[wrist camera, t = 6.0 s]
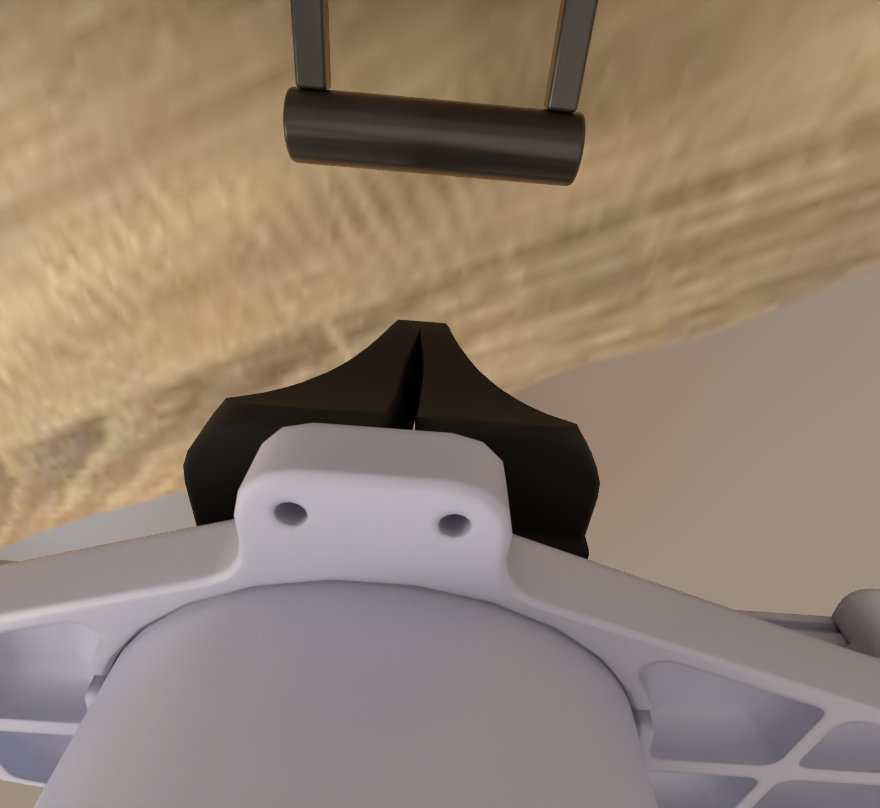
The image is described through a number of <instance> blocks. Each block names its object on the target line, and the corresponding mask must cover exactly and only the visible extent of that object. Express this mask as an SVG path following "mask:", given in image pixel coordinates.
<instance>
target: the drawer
mask: <svg viewBox="0 0 880 808" xmlns="http://www.w3.org/2000/svg"><path fill="white" fill-rule="evenodd" d="M290 2H291V17H292V32H293V47H294V62H295V77H296V85H297V87H291V88H289V89H288V91H287V93H286V97H285V102H284V111H283V125H284V135H285V142H286V146H287V150H288V153H289V155H290V157H291V159H292V160H293V161H295V162H297V163H307V164H319V165H330V166H342V167H353V168H365V169H376V170H388V171H399V172H411V173H422V174H434V175H445V176H457V177H468V178H480V179H491V180H503V181H514V182H526V183H537V184H549V185H560V186H569V185H571V184H572V183H573V181H574V179H575V177H576V175H577V172H578V170H579V166H580V163H581V159H582V154H583V149H584V142H585V118H584V115H583V114H582V113H580V112H575V111H576V110H577V107H578V102H579V97H580V92H581V87H582V82H583V76H584V71H585V66H586V61H587V56H588V51H589V45H590V40H591V35H592V30H593V25H594V20H595V14H596V9H597V4H598V0H561V4H560V10H559V16H558V23H557V29H556V35H555V41H554V47H553V53H552V59H551V66H550V72H549V78H548V84H547V90H546V96H545V103H544V106H545V108H547V109H536V108H525V107H514V106H503V105H492V104H481V103H469V102H458V101H447V100H436V99H425V98H414V97H403V96H391V95H380V94H369V93H358V92H347V91H336V90H325V89H329V88H330V87H331V72H330V43H329V15H328V0H290ZM548 109H549V110H548Z"/></svg>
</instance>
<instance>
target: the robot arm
mask: <svg viewBox="0 0 880 808" xmlns="http://www.w3.org/2000/svg"><path fill="white" fill-rule="evenodd" d="M414 421H415V430H413V426H414ZM183 467H184V478H185V484H186V488H187V491H188V495H189V499H190V503H191V506H192V510H193V514H194V518H195V521H196V525H197V526H196V527H191V528H186V529H181V530H176V531H171V532H166V533H160V534H155V535H151V536H146V537H140V538H136V539H131V540H126V541H120V542H116V543H110V544H105V545H100V546H95V547H90V548H85V549H80V550H74V551H69V552H65V553H59V554H54V555H50V556H44V557H39V558H34V559H29V560H24V561H8V560H0V779H1V780H6V781H11V782H16V783H22V784H27V785H33V786H38V787H43V788H44V789H43V791H42V793H41V795H40V796H39V798H38V800H37V802H36V803H35V805H34V807H33V808H880V589H862V590H858V591H855V592H852V593H850V594H848V595H847V596H846V597H845V598H843V599H842V600H841V602H840V603H839V604H838V606H837V607H836V609H835V611H834V613H833V615H832V617H828V616H814V615H799V614H783V613H770V612H755V611H754V612H753V611H739V610H733V609H730V608H727V607H724V606H721V605H719V604H716V603H713V602H710V601H707V600H704V599H701V598H698V597H695V596H692V595H689V594H687V593H683V592H681V591H678V590H675V589H672V588H669V587H666V586H663V585H660V584H657V583H655V582H651V581H649V580H646V579H643V578H640V577H637V576H634V575H631V574H628V573H625V572H622V571H620V570H617V569H614V568H611V567H608V566H605V565H602V564H599V563H596V562H593V561H590V560H588V556H589V549H588V545H587V542H586V538H585V534H586V531H587V528H588V525H589V522H590V519H591V516H592V513H593V510H594V507H595V504H596V501H597V498H598V492H599V485H600V481H599V477H598V471H597V467H596V464H595V461H594V459H593V456H592V453H591V451H590V449H589V447H588V445H587V443H586V441H585V439H584V437H583V435H582V434H581V432H580V430H579V428H578V426H577V424H575V423H572V422H568V421H566V420H563V419H560V418H557V417H554V416H551V415H548V414H546V413H543V412H541V411H539V410H537V409H534V408H532V407H530V406H528V405H526V404H524V403H522V402H520V401H519V400H517V399H515V398H514V397H512V396H511V395H509V394H507V393H506V392H504V391H503V390H501V389H500V388H499V387H497V386H496V385H495V384H494V383H492V382H491V381H490V380H489V379H488V378H486V377H485V376H484V375H483V374H482V373H481V372H480V371H479V370H478V369H477V368H476V367H475V366H474V365H473V364H472V362H471V361H470V360H469V359H468V357H467V356H466V354H465V353H464V352H463V350H462V349H461V348H460V346H459V345H458V343H457V341H456V340H455V338H454V336H453V335H452V333H451V331H450V328H449V327H448V326H447V324H446V323H434V322H422V321H409V320H397V321H396V322H395V323H394V324H393V325H392V326H391V327H390V328H388V329H387V330H386V331H385V332H384V333H383V334H382V335H381V336H380V337H379V338H378V339H377V340H376V341H374V342H373V343H372V344H371V345H370V346H369V347H367V348H366V349H365V350H363V351H362V352H361V353H359V354H358V355H357V356H355V357H354V358H352V359H351V360H349V361H348V362H346V363H344V364H342V365H341V366H339V367H337V368H335V369H333V370H331V371H329V372H327V373H325V374H322V375H320V376H317V377H315V378H312V379H310V380H307V381H305V382H302V383H299V384H296V385H292V386H289V387H285V388H281V389H277V390H273V391H269V392H264V393H258V394H252V395H245V396H239V397H231V398H226V399H225V400H224V402H223V403H222V404H221V405H220V406H219V408H218V409H217V410H216V411H215V412H214V413H213V415H212V416H211V418H210V419H209V421H208V422H207V423H206V425H205V426H204V428H203V429H202V431H201V432H200V434H199V435H198V437H197V438H196V440H195V441H194V442H193V444H192V445H191V447H190V448H189V450H188V452H187V455H186V458H185V462H184V465H183Z"/></svg>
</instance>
